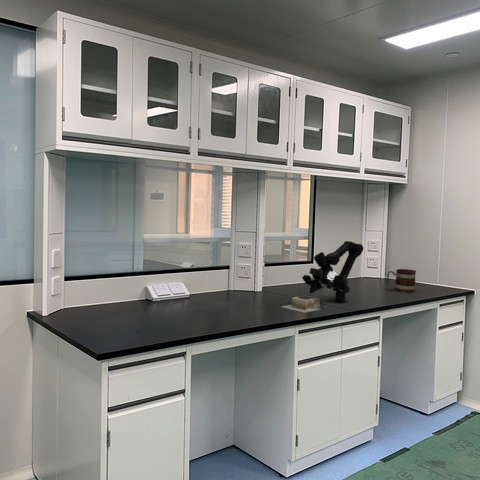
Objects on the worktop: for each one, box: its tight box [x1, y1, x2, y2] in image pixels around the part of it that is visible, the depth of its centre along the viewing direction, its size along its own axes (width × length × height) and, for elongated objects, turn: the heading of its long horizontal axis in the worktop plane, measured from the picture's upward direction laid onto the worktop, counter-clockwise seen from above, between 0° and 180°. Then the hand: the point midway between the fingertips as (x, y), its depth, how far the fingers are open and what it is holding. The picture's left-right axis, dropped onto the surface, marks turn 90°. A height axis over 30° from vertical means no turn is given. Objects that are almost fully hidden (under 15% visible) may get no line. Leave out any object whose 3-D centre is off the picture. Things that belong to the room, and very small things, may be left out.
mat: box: [281, 304, 322, 314], centre depth 263 cm, size 15×16×1 cm
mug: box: [386, 268, 417, 294], centre depth 333 cm, size 20×14×15 cm
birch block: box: [291, 295, 321, 310], centre depth 265 cm, size 5×10×12 cm
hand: (310, 292), depth 267 cm, fingers closed
